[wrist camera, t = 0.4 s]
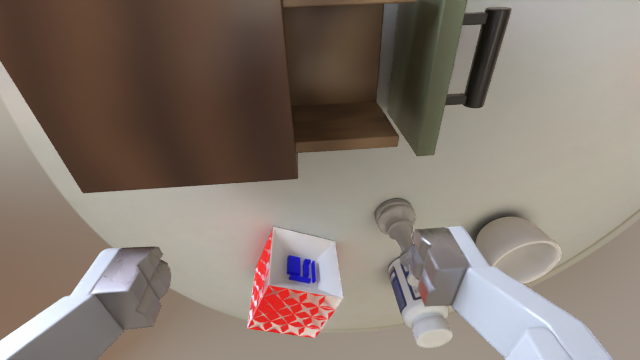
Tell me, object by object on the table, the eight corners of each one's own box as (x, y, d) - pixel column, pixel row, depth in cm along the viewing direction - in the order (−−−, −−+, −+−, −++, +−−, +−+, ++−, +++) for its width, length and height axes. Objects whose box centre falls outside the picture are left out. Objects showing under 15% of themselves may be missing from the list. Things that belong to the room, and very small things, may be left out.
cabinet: (284, -38, 20) (277, -47, 12) (297, 119, 27) (298, 179, 19) (82, -30, 20) (-60, -34, 12) (146, 128, 26) (82, 193, 18)
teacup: (514, 196, 34) (546, 229, 30) (539, 228, 37) (571, 262, 33) (440, 242, 38) (459, 277, 33) (469, 267, 41) (490, 302, 37)
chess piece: (416, 218, 35) (452, 292, 27) (381, 231, 36) (406, 307, 28) (406, 192, 33) (443, 265, 24) (369, 206, 33) (393, 281, 25)
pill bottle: (404, 284, 42) (430, 355, 34) (379, 269, 40) (400, 343, 32) (434, 263, 40) (469, 335, 32) (409, 247, 38) (440, 320, 30)
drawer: (478, -36, 20) (562, -41, 14) (446, 108, 26) (495, 151, 20) (235, -26, 20) (206, -27, 13) (259, 119, 26) (247, 167, 19)
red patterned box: (255, 268, 38) (247, 328, 32) (273, 226, 34) (267, 285, 28) (312, 279, 40) (315, 338, 34) (335, 241, 36) (344, 299, 30)
